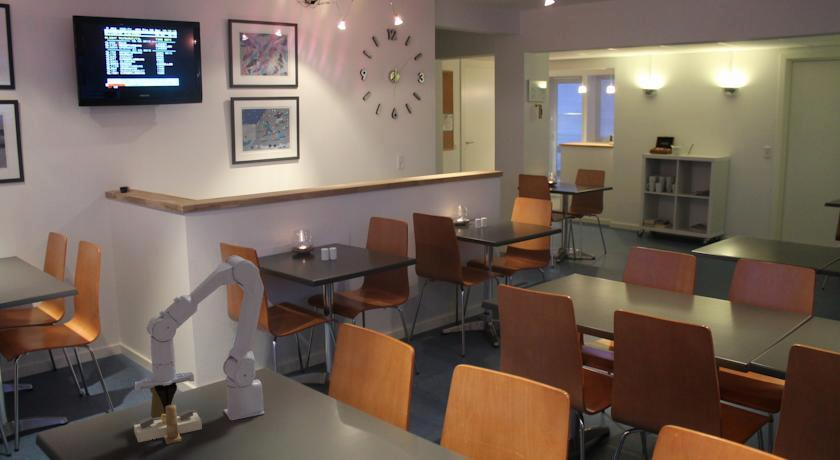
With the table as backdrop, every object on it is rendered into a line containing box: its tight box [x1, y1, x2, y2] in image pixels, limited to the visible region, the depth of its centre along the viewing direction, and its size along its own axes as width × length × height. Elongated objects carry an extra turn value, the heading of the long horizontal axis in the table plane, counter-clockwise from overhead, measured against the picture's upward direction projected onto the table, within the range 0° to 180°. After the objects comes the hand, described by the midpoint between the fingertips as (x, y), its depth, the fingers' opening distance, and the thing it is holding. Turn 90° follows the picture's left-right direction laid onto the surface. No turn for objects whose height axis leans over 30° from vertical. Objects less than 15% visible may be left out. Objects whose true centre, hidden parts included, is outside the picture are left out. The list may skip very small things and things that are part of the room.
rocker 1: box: [138, 415, 154, 428], centre depth 191 cm, size 3×2×1 cm
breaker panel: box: [133, 409, 203, 443], centre depth 194 cm, size 16×7×3 cm, turn 119°
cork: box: [149, 387, 166, 418], centre depth 201 cm, size 6×6×11 cm
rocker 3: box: [178, 408, 193, 420], centre depth 196 cm, size 3×2×1 cm
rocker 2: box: [161, 414, 166, 422], centre depth 194 cm, size 3×2×1 cm
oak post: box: [163, 404, 182, 445], centre depth 188 cm, size 4×4×9 cm
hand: (166, 411), depth 194 cm, fingers closed
